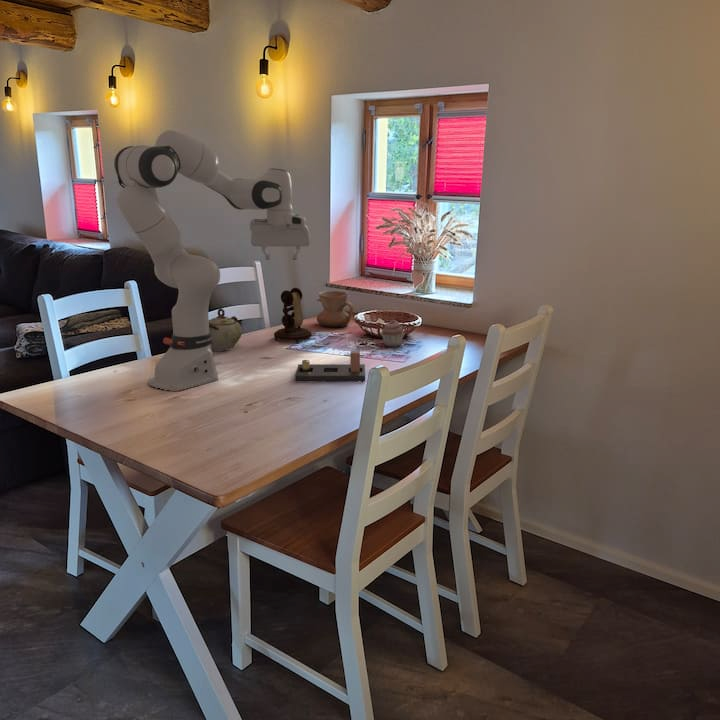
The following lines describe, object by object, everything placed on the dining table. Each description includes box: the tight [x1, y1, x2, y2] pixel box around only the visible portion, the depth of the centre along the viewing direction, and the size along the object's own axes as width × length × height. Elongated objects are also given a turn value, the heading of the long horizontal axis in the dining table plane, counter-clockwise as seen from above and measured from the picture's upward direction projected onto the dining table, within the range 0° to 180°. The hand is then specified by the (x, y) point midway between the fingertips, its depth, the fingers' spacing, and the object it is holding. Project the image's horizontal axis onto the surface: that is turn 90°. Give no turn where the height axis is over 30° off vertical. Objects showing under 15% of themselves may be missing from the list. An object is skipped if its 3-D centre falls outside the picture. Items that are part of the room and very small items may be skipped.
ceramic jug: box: [316, 290, 354, 328], centre depth 265 cm, size 18×14×14 cm
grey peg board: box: [294, 359, 366, 383], centre depth 199 cm, size 22×12×5 cm, turn 90°
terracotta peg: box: [349, 350, 361, 372], centre depth 199 cm, size 3×3×8 cm
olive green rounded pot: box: [209, 308, 243, 351], centre depth 230 cm, size 20×15×15 cm
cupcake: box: [380, 319, 406, 348], centre depth 235 cm, size 9×9×10 cm
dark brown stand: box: [273, 287, 313, 344], centre depth 242 cm, size 15×15×20 cm
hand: (281, 259), depth 215 cm, fingers open, 8 cm apart
